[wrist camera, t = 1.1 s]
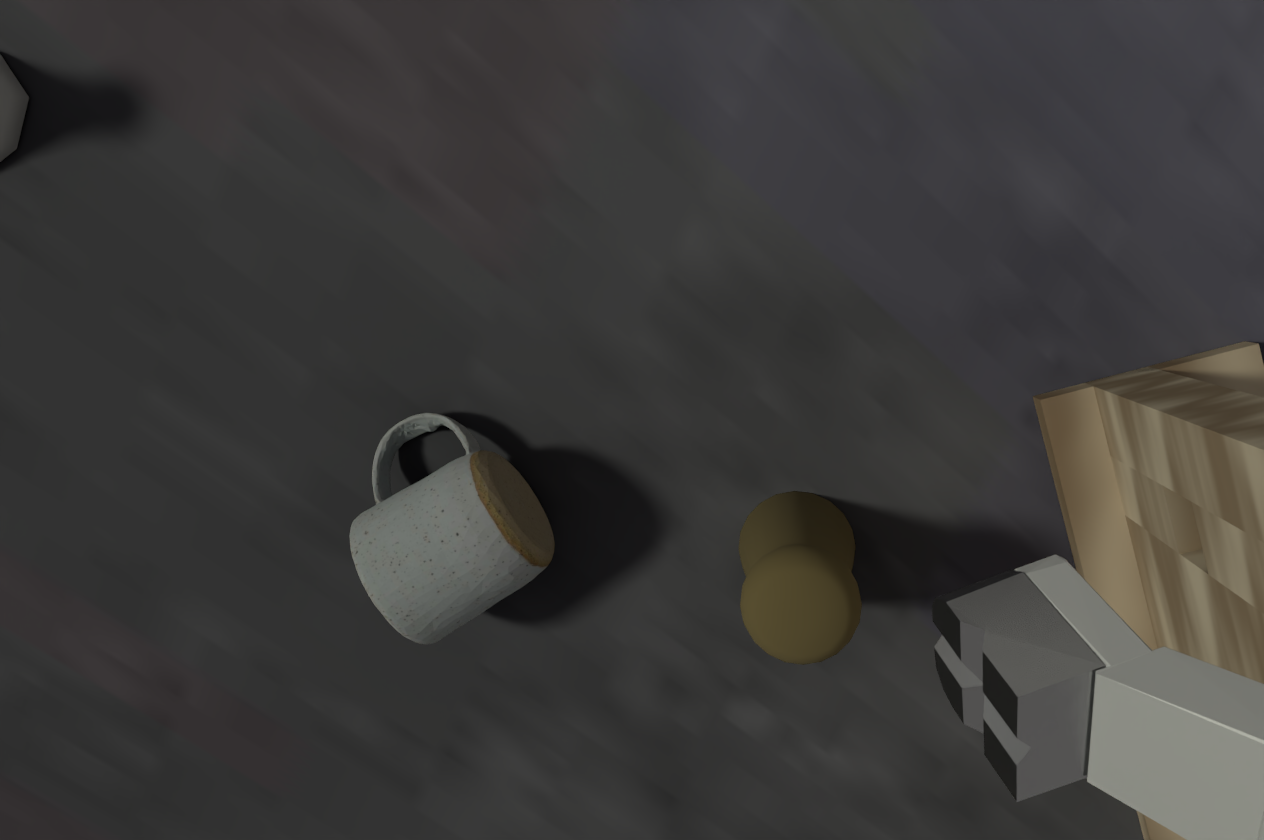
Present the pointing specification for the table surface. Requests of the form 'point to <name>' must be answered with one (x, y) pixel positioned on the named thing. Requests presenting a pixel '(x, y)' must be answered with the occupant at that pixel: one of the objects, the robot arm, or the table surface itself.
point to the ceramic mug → (447, 536)
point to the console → (1169, 503)
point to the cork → (799, 578)
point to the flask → (10, 110)
